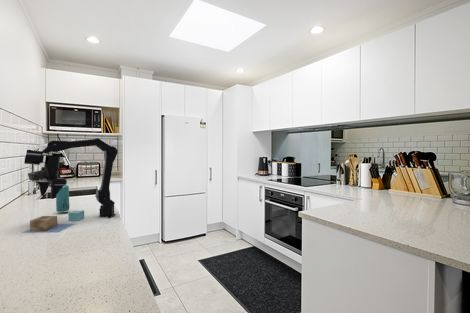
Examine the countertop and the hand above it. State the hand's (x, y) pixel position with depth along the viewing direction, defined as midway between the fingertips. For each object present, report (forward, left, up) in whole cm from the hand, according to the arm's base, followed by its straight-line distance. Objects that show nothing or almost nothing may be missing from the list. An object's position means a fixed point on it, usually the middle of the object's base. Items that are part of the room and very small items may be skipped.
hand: (47, 197), depth 115 cm
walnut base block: (-3, +6, -14) cm, 15 cm away
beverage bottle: (+9, -24, -14) cm, 29 cm away
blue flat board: (-5, +5, -14) cm, 16 cm away
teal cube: (-9, -8, -14) cm, 19 cm away
